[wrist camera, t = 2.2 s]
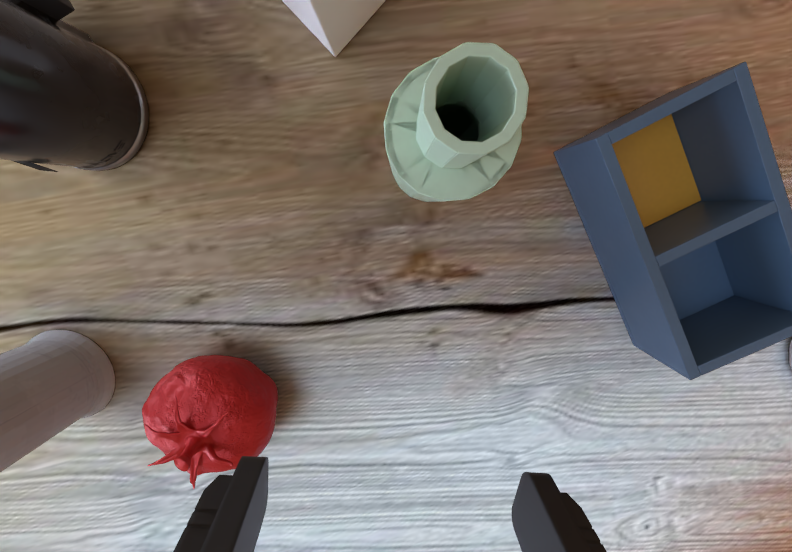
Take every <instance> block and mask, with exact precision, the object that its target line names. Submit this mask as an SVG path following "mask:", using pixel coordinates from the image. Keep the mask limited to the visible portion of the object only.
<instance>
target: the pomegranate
mask: <svg viewBox="0 0 792 552" xmlns="http://www.w3.org/2000/svg"><path fill="white" fill-rule="evenodd" d="M277 401H278V393H277V387H276V384H275V383H274V381H273V380H272V379H271V378H270V377H269V376H268V375H267V374H265V373H264V372H262V371H261V370H260V369H259V368H258V367H257V366H256V365H254V364H253V363H252V362H250V361H248V360H246V359H242V358H236V357H231V356H222V355H210V356H198V357H196V358H191V359H189V360H186V361H184V362H182V363H180V364H178V365H177V366H175V368H174V369H173V370H172V371H171V372H169V373H168V374H166V375H165V376H164V377H163V378H162V379H161V380H160V381H159V382H158V383H157V384H156V385H155V386H154V388H153V389H152V391H151V393H150V396H149V397H148V399H147V401H146V402H145V404H144V406H143V408H142V415H143V421H144V428H145V432H146V436H147V438H148V440H149V441H150V442H151V443H152V444H153V445H155V446H156V447H158V448H159V449H160V450H162V451H163V452H164V454H165V455H166V456H164V457H163V458H161V459H160V460H158V461H156V462H154V463H152V464H149V465H148V466H151V465H157V464H163V463H166V462H169V461H171V460H174V463H175V465H176V467H177V468H178V469H180V470H181V471H187V472H188V473H189V474H190V483H191V484H192V485H193V489H194V488H195V481H196V476H197V475H200V474H202V473H210V472H223V471H227V470H231V469H236V467H237V465H238V463H239V461H240V459H241V457H242V456H252V457H257V456H258V455H259V454H260V453H261V452H262V451H263V450H264V448H265V447H266V446H267V444H268V443H269V441H270V439H271V437H272V434H273V430H274V427H275V420H276V407H277Z"/></svg>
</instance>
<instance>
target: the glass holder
mask: <svg viewBox="0 0 792 552" xmlns="http://www.w3.org/2000/svg"><path fill="white" fill-rule="evenodd" d="M114 389H115V375H114V370H113V367H112V364H111V362H110V360H109V358H108V357H107V355H106V354H105V353H104V351H103V350H102V349H101V348H100V347H99V346H98V345H97V344H96V343H94V342H93V341H92V340H90V339H89V338H87V337H85V336H83V335H81V334H79V333H76V332H73V331H68V330H50V331H46V332H43V333H40V334H38V335H37V336H35V337H33V338H32V339H31V340H30V341H29V342H27V343H26V344H25V345H23V346H21V347H18V348H15V349H13V350H10V351H7V352H5V353H2V354H0V472H2V471H3V470H4V469H6V468H7V467H9V466H10V465H12V464H13V463H15V462H16V461H18V460H19V459H21V458H22V457H24V456H25V455H27V454H28V453H30V452H31V451H33V450H34V449H36V448H37V447H39V446H40V445H42V444H43V443H45V442H46V441H47V440H49V439H50V438H52V437H53V436H55V435H56V434H58V433H59V432H61V431H62V430H64V429H65V428H67V427H68V426H70V425H71V424H73V423H74V422H76V421H77V420H79V419H80V418H85V417H88V416H92V415H94V414H96V413H97V412H99V411H101V410H102V409H103V408H104V407H105V406H106V405H107V404H108V403H109V401H110V400H111V398H112V396H113V393H114Z"/></svg>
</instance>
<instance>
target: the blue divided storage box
mask: <svg viewBox="0 0 792 552" xmlns="http://www.w3.org/2000/svg"><path fill="white" fill-rule="evenodd" d="M554 155H555V158H556V160H557V162H558V165H559V167H560V170H561V172H562V174H563V177H564V179H565V182H566V184H567V186H568V189H569V191H570V194H571V196H572V198H573V201H574V203H575V206H576V208H577V210H578V213H579V215H580V218H581V220H582V222H583V225H584V227H585V230H586V232H587V235H588V237H589V239H590V242H591V244H592V247H593V249H594V251H595V254H596V256H597V259H598V261H599V263H600V266H601V268H602V271H603V273H604V275H605V278H606V280H607V283H608V285H609V287H610V290H611V292H612V295H613V297H614V299H615V302H616V304H617V307H618V309H619V311H620V314H621V316H622V319H623V321H624V324H625V326H626V328H627V331H628V333H629V336H630V338H631V340H632V343H633V345H634V346H636V347H638V348H639V349H641V350H642V351H644V352H645V353H647V354H649V355H650V356H652V357H654V358H655V359H657V360H658V361H660V362H662V363H663V364H665V365H667V366H668V367H670V368H671V369H673V370H675V371H676V372H678V373H680V374H681V375H683V376H684V377H686V378H688V379H689V380H692V379H694V378H697V377H699V376H701V375H704V374H706V373H708V372H710V371H713V370H715V369H717V368H720V367H722V366H724V365H727V364H729V363H731V362H734V361H736V360H738V359H741V358H743V357H745V356H747V355H750V354H752V353H754V352H757V351H759V350H761V349H764V348H766V347H768V346H771V345H773V344H775V343H778V342H780V341H782V340H784V339H787V338H789V337H791V336H792V210H791V207H790V204H789V200H788V197H787V194H786V191H785V187H784V184H783V181H782V177H781V174H780V171H779V168H778V164H777V161H776V158H775V155H774V151H773V148H772V145H771V142H770V138H769V135H768V132H767V129H766V125H765V122H764V119H763V116H762V112H761V109H760V106H759V103H758V99H757V96H756V93H755V90H754V86H753V83H752V80H751V77H750V73H749V70H748V67H747V63H746V62H743V63H740V64H738V65H735V66H733V67H731V68H728V69H726V70H723V71H721V72H718V73H716V74H713V75H711V76H708V77H706V78H704V79H701V80H699V81H696V82H694V83H691V84H689V85H686V86H684V87H681V88H679V89H677V90H674V91H672V92H669V93H667V94H665V95H663V96H661V97H659V98H657V99H655V100H654V101H652V102H650V103H648V104H646V105H644V106H642V107H640V108H638V109H636V110H634V111H632V112H630V113H628V114H626V115H624V116H623V117H621V118H619V119H617V120H615V121H613V122H611V123H609V124H607V125H605V126H603V127H601V128H599V129H597V130H595V131H593V132H592V133H590V134H588V135H586V136H584V137H582V138H580V139H578V140H576V141H574V142H572V143H570V144H568V145H566V146H564V147H562V148H561V149H559V150H557V151H555V152H554Z"/></svg>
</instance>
